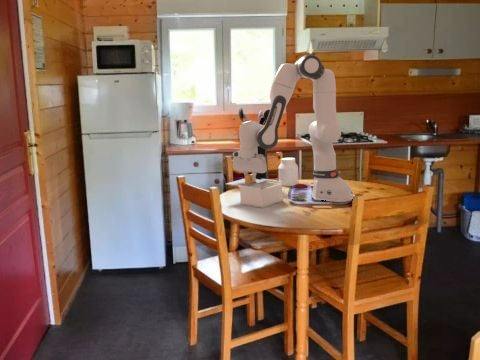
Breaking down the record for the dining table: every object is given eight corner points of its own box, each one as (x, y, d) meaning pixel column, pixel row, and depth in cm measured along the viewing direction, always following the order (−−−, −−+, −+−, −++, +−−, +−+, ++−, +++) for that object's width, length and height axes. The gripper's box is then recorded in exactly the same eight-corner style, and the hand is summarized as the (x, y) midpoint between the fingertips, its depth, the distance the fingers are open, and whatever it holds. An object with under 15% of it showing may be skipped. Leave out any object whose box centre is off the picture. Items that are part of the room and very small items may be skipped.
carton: (284, 200, 241) (283, 181, 239) (260, 208, 228) (259, 188, 226) (262, 197, 251) (262, 178, 249) (239, 204, 238) (238, 185, 236)
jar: (291, 186, 272) (290, 160, 269) (276, 185, 278) (275, 159, 275) (300, 182, 281) (300, 157, 278) (286, 181, 287) (285, 156, 284)
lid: (266, 181, 246) (266, 172, 245) (245, 187, 234) (245, 178, 233) (246, 179, 255) (246, 170, 254) (225, 184, 244) (225, 175, 243)
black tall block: (266, 189, 268) (264, 140, 262) (253, 189, 269) (250, 140, 264) (268, 186, 275) (266, 138, 270) (255, 186, 277) (252, 138, 271)
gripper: (268, 153, 235) (270, 181, 237) (238, 151, 248) (240, 177, 251) (260, 155, 230) (261, 183, 233) (230, 152, 244) (231, 179, 247)
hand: (250, 180), depth 242 cm, fingers closed on lid, 2 cm apart
